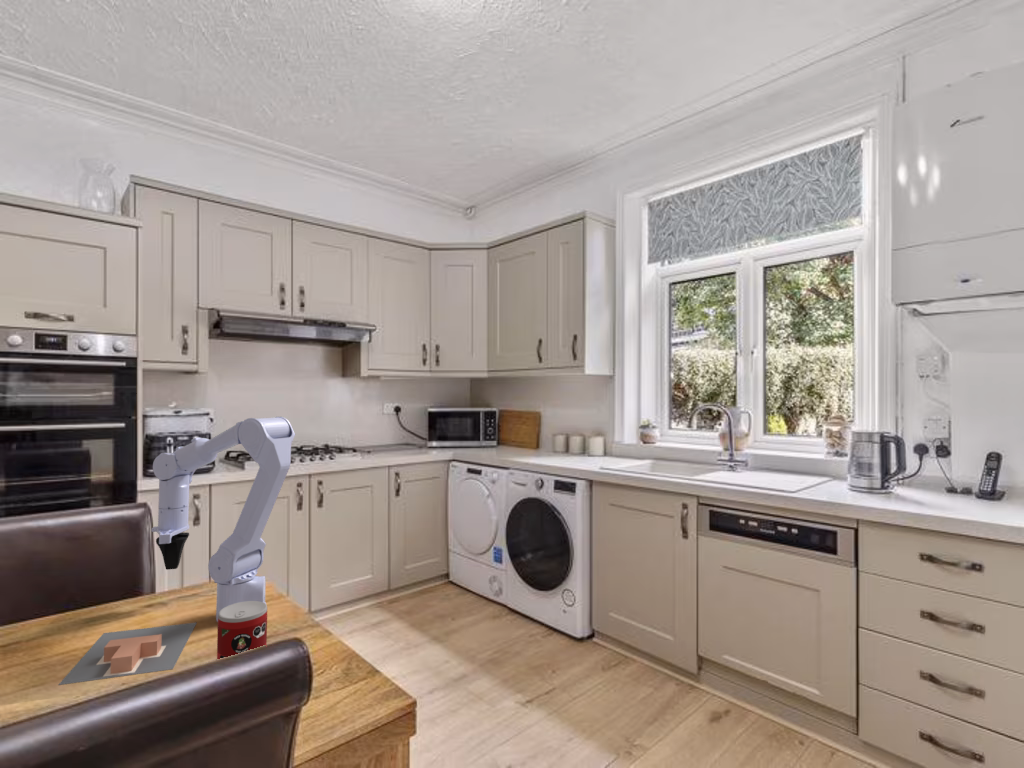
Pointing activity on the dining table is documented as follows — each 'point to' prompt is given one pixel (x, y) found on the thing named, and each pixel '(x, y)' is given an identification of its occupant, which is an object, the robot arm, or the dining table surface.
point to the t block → (130, 651)
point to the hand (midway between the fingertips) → (172, 568)
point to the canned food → (241, 628)
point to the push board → (164, 660)
